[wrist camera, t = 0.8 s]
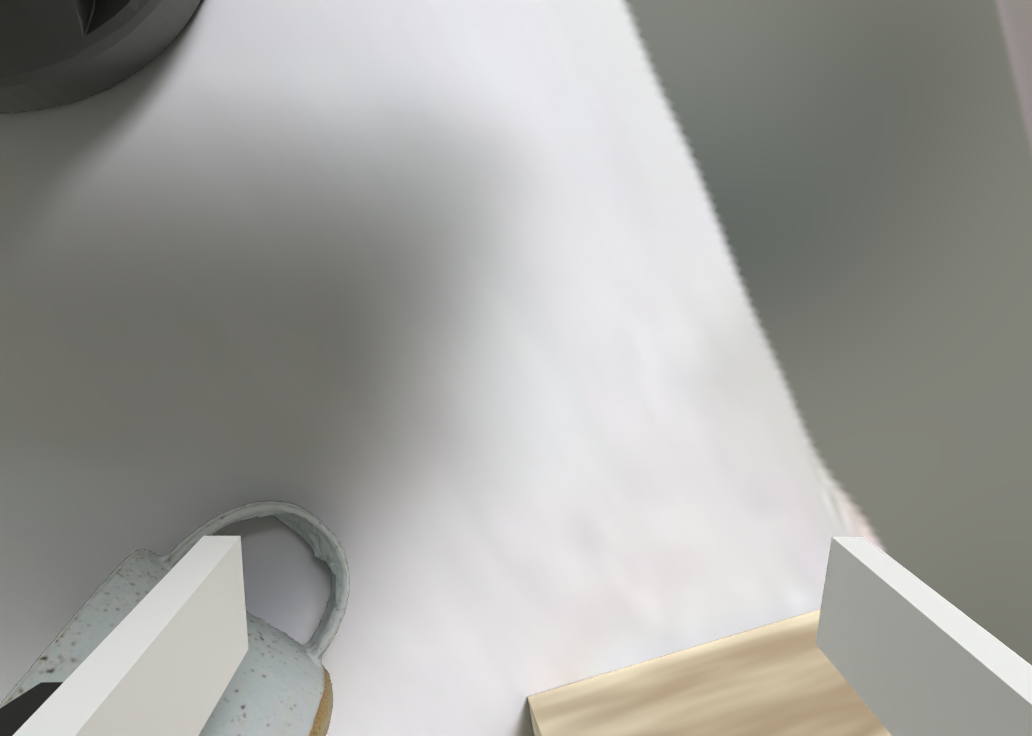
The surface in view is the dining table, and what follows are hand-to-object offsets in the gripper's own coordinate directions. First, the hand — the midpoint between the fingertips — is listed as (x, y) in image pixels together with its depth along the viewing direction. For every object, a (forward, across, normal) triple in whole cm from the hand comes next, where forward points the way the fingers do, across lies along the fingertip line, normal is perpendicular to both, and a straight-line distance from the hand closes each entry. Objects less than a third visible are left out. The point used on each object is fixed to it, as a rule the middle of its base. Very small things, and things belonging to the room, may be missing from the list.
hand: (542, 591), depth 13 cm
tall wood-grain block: (+10, +9, -15) cm, 20 cm away
